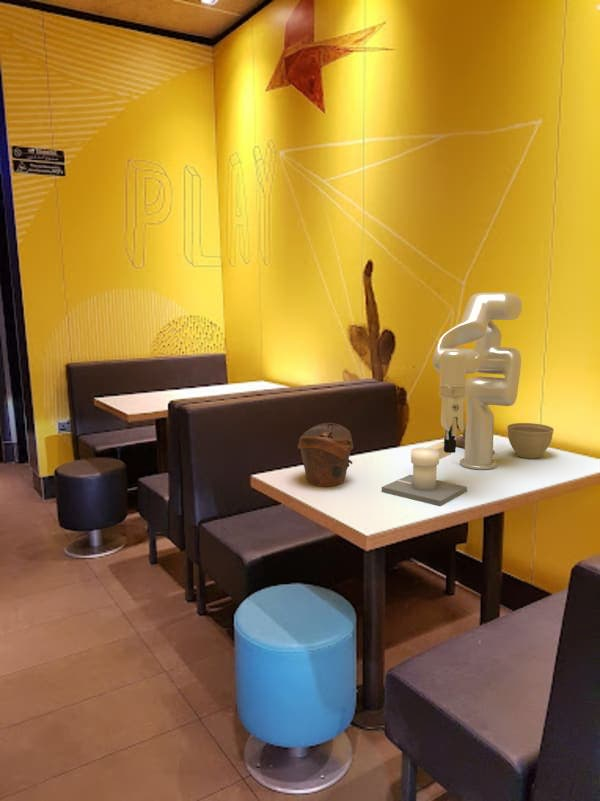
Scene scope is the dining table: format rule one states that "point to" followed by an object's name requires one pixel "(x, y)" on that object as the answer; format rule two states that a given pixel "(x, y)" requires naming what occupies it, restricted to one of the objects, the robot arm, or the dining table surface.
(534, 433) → the planter bowl
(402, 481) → the base
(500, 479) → the dining table surface
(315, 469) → the brown domed pot
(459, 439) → the pipe
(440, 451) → the cream piece
